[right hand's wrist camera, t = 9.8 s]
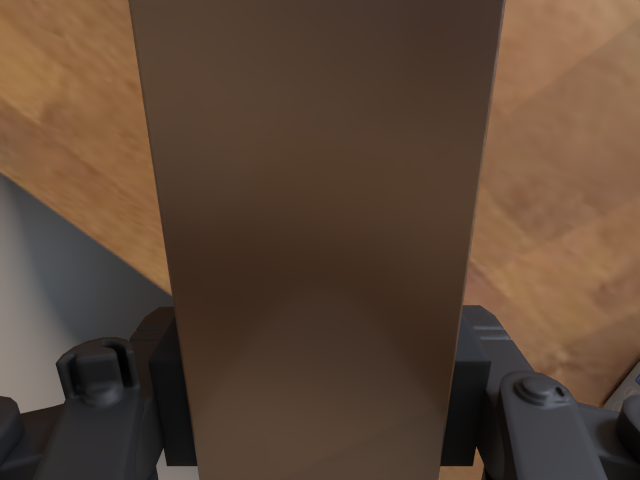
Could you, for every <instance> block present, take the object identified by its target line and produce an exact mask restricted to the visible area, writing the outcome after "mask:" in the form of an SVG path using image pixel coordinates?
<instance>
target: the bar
mask: <svg viewBox="0 0 640 480" xmlns="http://www.w3.org/2000/svg"><path fill="white" fill-rule="evenodd" d="M128 1H129V8H130V15H131V21H132V28H133V35H134V41H135V48H136V55H137V62H138V68H139V75H140V82H141V89H142V95H143V102H144V109H145V116H146V122H147V129H148V136H149V142H150V149H151V156H152V163H153V169H154V176H155V183H156V190H157V196H158V203H159V210H160V216H161V223H162V230H163V237H164V243H165V250H166V257H167V264H168V270H169V277H170V284H171V290H172V297H173V304H174V311H175V317H176V324H177V331H178V338H179V344H180V351H181V358H182V365H183V371H184V378H185V385H186V391H187V398H188V405H189V412H190V418H191V425H192V432H193V439H194V445H195V452H196V459H197V465H198V472H199V479H200V480H438V478H439V471H440V464H441V457H442V450H443V443H444V435H445V428H446V421H447V414H448V407H449V400H450V393H451V386H452V379H453V372H454V364H455V357H456V350H457V343H458V336H459V329H460V322H461V315H462V308H463V301H464V293H465V286H466V279H467V272H468V265H469V258H470V251H471V244H472V237H473V230H474V222H475V215H476V208H477V201H478V194H479V187H480V180H481V173H482V166H483V159H484V151H485V144H486V137H487V130H488V123H489V116H490V109H491V102H492V95H493V88H494V80H495V73H496V66H497V59H498V52H499V45H500V38H501V31H502V24H503V17H504V9H505V2H506V0H128Z"/></svg>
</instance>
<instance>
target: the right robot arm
mask: <svg viewBox="0 0 640 480" xmlns="http://www.w3.org/2000/svg"><path fill="white" fill-rule="evenodd" d="M56 367H57V370H58V374H59V377H60V381H61V385H62V388H63V392H64V395H65V399H66V400H65V402H64V404H60V405H57V406H53V407H49V408H45V409H40V410H35V411H31V412H27V413H22V414H20V411H19V408H18V405H17V403H16V402H15V401H14V400H13V399H11V398H9V397H3V396H0V480H158V474H157V469H156V464H157V462H158V460H159V457H160V455H161V452H162V450H163V448H164V452H165V458H166V463H167V466H198V465H197V459H196V452H195V445H194V439H193V432H192V425H191V418H190V412H189V405H188V398H187V391H186V385H185V378H184V371H183V365H182V358H181V351H180V344H179V338H178V331H177V324H176V317H175V311H174V307H159V308H158V309H156V310H155V311H153V312H152V313H150V314H149V315H147V316H146V317H145V318H144V319H143V321H142V322H141V324H140V325H139V326H138V328H137V331H135V332H134V334H133V335H132V336H131V338H130V341H127V340H125V339H121V338H117V337H107V338H99V339H95V340H90V341H87V342H84V343H82V344H80V345H77V346H75V347H73V348H72V349H70V350H69V351H67V352H66V353H64V354H63V355H62V356H61V357H60V359H59V360H58V361H57V362H56ZM476 446H477V449H478V451H479V453H480V456H481V458H482V461H483V463H484V469H483V474H482V479H481V480H640V394H638V395H631V396H629V397H628V398H627V399H625V400H624V401H623V404H622V407H621V410H620V412H617V411H613V410H608V409H604V408H599V407H594V406H590V405H586V404H582V403H579V402H576V401H575V399H574V397H573V396H572V394H571V393H570V392H569V390H568V389H567V388H566V387H564V386H563V385H562V384H560V383H559V382H558V381H556V380H554V379H552V378H550V377H548V376H546V375H544V374H540V373H536V372H535V371H534V370H533V369H532V367H531V366H530V364H529V363H528V362H527V360H526V359H525V357H524V356H523V355H522V353H521V352H520V350H519V349H518V348H517V346H516V345H515V343H514V342H513V341H512V340H510V336H509V335H508V334H507V332H506V331H505V330H503V327H502V325H501V324H500V322H499V321H498V319H497V318H496V317H495V315H493V314H492V313H490V312H489V311H487V310H486V309H484V308H483V307H481V306H480V305H463V308H462V315H461V322H460V329H459V336H458V343H457V350H456V357H455V364H454V372H453V379H452V386H451V393H450V400H449V407H448V414H447V421H446V428H445V435H444V443H443V450H442V457H441V464H440V466H473V461H474V456H475V450H476Z"/></svg>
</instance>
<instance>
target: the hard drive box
mask: <svg viewBox="0 0 640 480" xmlns="http://www.w3.org/2000/svg"><path fill="white" fill-rule="evenodd" d="M638 394H640V361H639V362H638V364H637V365H636V366H635V367H634V369H633V370H632V371H631V372H630V374H629V375H628V376H627V377H626V379H625V380H624V381H623V382H622V384H621V385H620V386H619V387H618V389H617V390H616V391H615V392H614V393H613V395H612V396H611V397H610V398H609V400H608V401H607V402H606V403H605V405H604V406H603V407H602V408H604V409H608V410H613V411H617V412H620V410H621V407H622V404H623V401H624V400H625V399H627V398H628V397H629V396H631V395H638Z"/></svg>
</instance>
